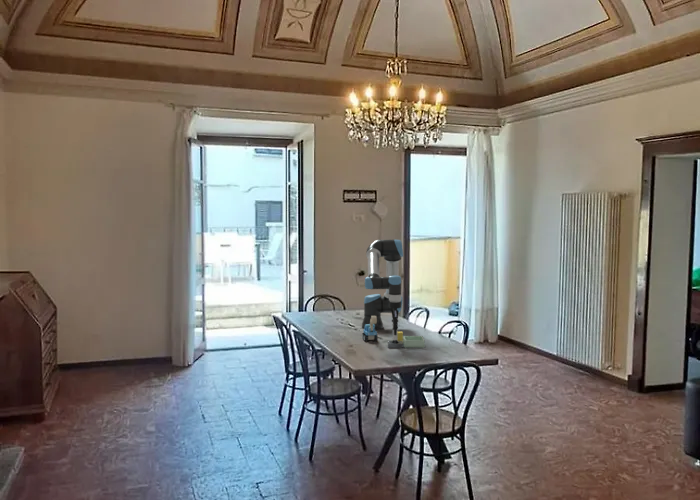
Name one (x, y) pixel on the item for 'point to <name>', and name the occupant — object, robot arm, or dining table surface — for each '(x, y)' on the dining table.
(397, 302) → the robot arm
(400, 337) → the chock
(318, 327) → the dining table surface
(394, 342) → the stop pin
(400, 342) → the pin holder
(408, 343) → the tray
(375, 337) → the toy excavator
